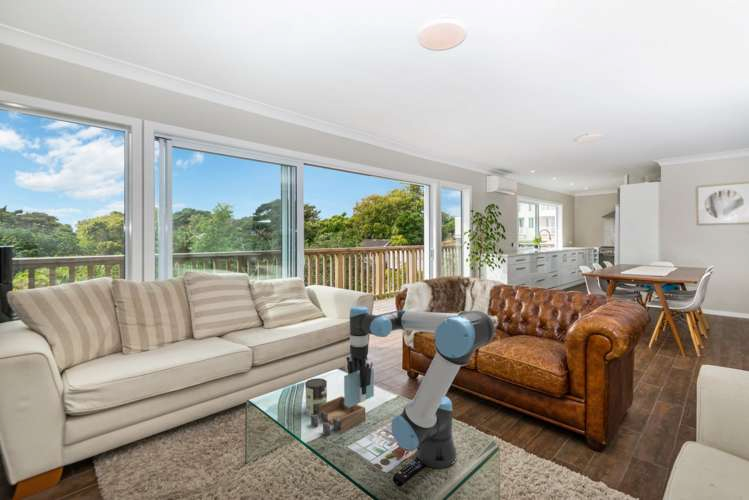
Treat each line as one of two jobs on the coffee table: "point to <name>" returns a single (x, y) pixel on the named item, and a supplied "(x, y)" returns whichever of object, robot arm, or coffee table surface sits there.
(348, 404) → the door
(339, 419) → the cabinet
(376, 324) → the robot arm
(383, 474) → the coffee table surface
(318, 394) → the coffee can
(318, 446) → the coffee table surface
